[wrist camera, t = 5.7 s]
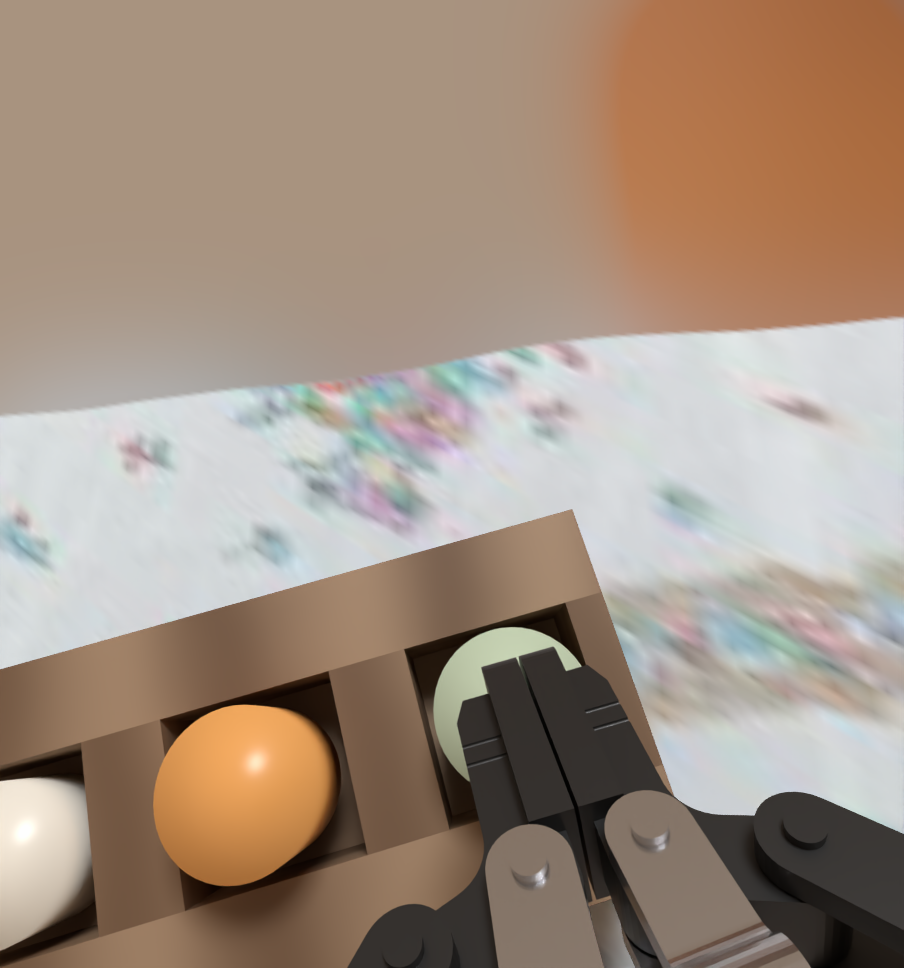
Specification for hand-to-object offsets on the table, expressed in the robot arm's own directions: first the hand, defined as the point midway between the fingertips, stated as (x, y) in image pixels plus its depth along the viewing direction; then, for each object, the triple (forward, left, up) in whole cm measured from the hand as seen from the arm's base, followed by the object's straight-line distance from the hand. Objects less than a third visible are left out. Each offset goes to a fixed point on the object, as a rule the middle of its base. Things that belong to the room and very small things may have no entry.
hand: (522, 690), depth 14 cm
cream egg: (+14, 0, -8) cm, 16 cm away
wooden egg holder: (+7, 0, -15) cm, 16 cm away
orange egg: (+7, 0, -7) cm, 10 cm away
